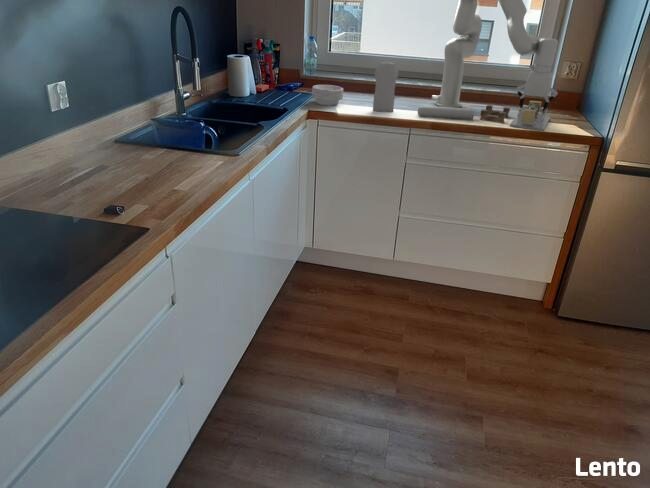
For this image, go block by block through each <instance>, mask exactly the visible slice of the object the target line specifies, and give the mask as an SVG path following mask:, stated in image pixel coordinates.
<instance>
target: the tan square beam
mask: <svg viewBox="0 0 650 488" xmlns="http://www.w3.org/2000/svg"><path fill="white" fill-rule="evenodd" d="M528 105H529V108H528V109H524V110H523V114H522V120H521V122H528V123H534V120H535V115H536V113H538V112H540V110H541V106H542V101H541V100H540V101H538V100H530V101H529V103H528Z"/></svg>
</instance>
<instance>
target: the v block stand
mask: <svg viewBox="0 0 650 488" xmlns="http://www.w3.org/2000/svg"><path fill="white" fill-rule="evenodd" d="M543 107H544V106H542V107H541V108H540V112H538V113H536V115H535V120H534V123H528V122H521V120H522V114H523V110H524V109H528V108H529V104H528V105H527V104H523V107H522V108H521V109H519V110H518V113H517V114H516V116H515V118H514V119H513V120H512V121H511V122H510V125H509V127H512V128H518V129H525V130H532V131H539V132H540V131H541V132H544V131H545V130H546V127H547V125H548V123H549V121H550V118H551V117H550V116H546V115H547V111H548V108H547V109H545V111H543Z"/></svg>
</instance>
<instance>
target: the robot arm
mask: <svg viewBox="0 0 650 488" xmlns="http://www.w3.org/2000/svg"><path fill="white" fill-rule="evenodd" d="M498 2H499V5H500V7H501V9H502V10H501V11H502V12H503V14H504V15H505V19H506V21H507V23H506V24H507V25H506V28H507V35H508V38H509V41H510V43H511V46H512V47H513V49H514V51H515V53H516V54H518V55H519V56H528V55H535V57H534V62H533V64H530V65H529V69H531V71H530V72H529V73H528V76H527V79H526V82H525V84H523V85H519V86H517V87H516V88H515V89H516V92H517V95H518V96H519V99H520V100H519V103H518V105H519V109H522V107H523V105H524V102H525V97H526V96H528V97H535V98H544V100H545V101H544V104H543V106H542V107H543V111H545V109H547V110H548V105H549V102H551V101H552V100H554V98H556V96H557V95H558V94H559V93H558V91H557V90H555V89H553V88H552V87H551V86H552V85H551V84H552V77H553V73H552V68H553V65H554V61H555V57H556V52H557V49H558V45H559V40H558V39H555V38H548V37H543V36H542V37H541V36H538V35H528V32H527V30H526V28H525V24H524V21H525V20H524V19H525V16H526V14H527V12H528V11H527V7H526V5H525V3H524V0H498ZM477 7H478V0H458V4H457V8H456V13H455V16H454V20H453V26H452V29H453V33H454V34H455V35H457V36H460V37H456V38H455V37H454V38H452V39H450V40H448V41H447V42H446V44H445V47H444V64H443V74H442V81H441V89H440V94H439V95H435V94H433V95H431V100H433V101H434V100H435V101H436V102H435V105H436V107H452V108H462V103H461V102H460V97H461V89H462V84H463V78H464V72H465V71H464V69H465V64H464V59H469V58H472V56H473V55H474V54H475V52H476V50H477V48H478V44H479V39H480V36H481V32H482V28H483V27H482V26H483V23H482V18H481V17H480V15H479V14H477V13H476V11H477ZM521 89H523V93H522V92H521ZM550 93H552V95H551V96H549V94H550Z"/></svg>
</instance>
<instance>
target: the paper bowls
mask: <svg viewBox="0 0 650 488" xmlns="http://www.w3.org/2000/svg"><path fill="white" fill-rule="evenodd" d="M311 90H312V91H311V97H312V98H313V99H315V101H316V103H317V104H318V105H322V106H336V105H337V104H338V103H339V101H341V100H343V98H344V87H341V86H340V85H339V86H338V85H332V84H316V85H312V88H311Z"/></svg>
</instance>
